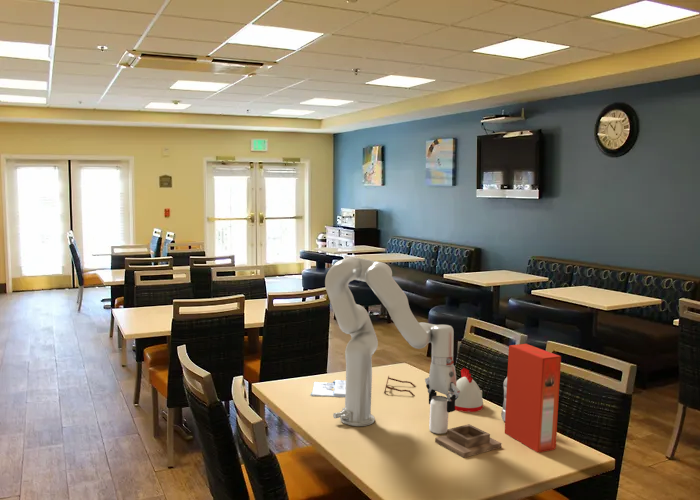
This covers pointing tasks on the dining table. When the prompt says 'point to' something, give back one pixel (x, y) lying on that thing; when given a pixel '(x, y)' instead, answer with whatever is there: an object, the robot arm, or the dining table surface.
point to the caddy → (467, 441)
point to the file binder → (532, 396)
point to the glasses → (398, 389)
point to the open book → (329, 389)
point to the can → (438, 415)
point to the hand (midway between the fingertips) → (441, 407)
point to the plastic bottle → (504, 400)
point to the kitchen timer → (468, 394)
